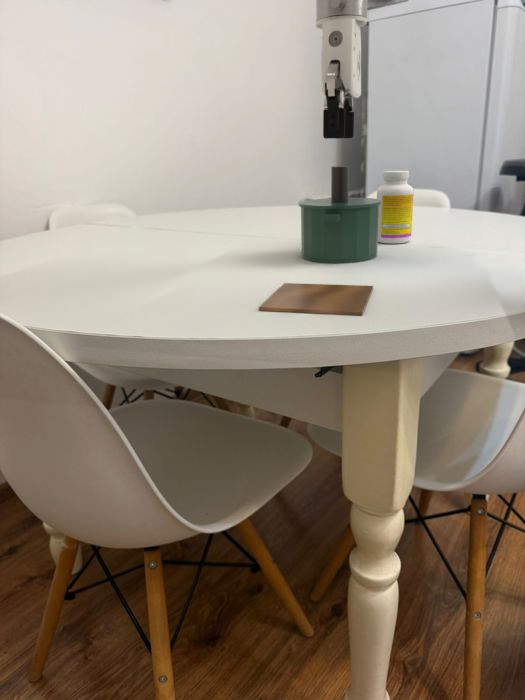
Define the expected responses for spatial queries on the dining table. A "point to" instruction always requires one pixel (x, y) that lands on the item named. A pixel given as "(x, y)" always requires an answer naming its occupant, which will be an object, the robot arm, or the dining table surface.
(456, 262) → the dining table surface
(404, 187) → the supplement bottle
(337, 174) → the pot lid
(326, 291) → the plate
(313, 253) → the pot
